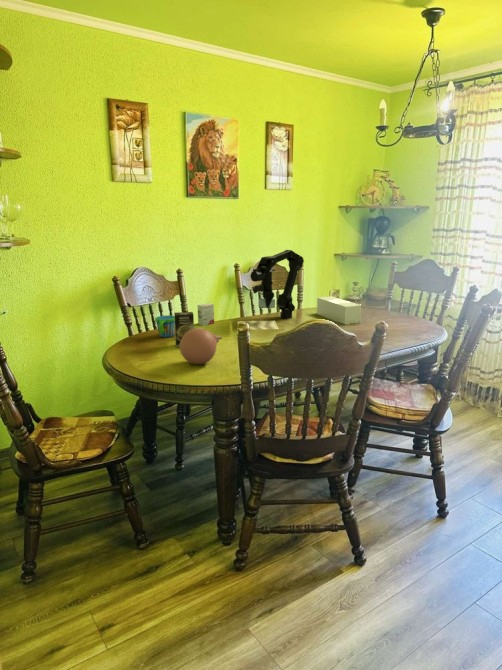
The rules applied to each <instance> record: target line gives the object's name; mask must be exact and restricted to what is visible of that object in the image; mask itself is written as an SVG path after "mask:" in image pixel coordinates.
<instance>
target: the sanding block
mask: <svg viewBox="0 0 502 670" xmlns="http://www.w3.org/2000/svg"><path fill="white" fill-rule="evenodd" d="M257 301H258V303H257V304H258V305H257V306H258V308H259V309H276V299H275V298H274V297H273V299H272V301H271V303H270V306H269V308H267V307H266V302H265V299H264V298H263V297H262V298H258V300H257Z"/></svg>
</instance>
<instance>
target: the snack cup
mask: <svg viewBox="0 0 502 670" xmlns="http://www.w3.org/2000/svg"><path fill="white" fill-rule="evenodd" d="M154 320H155V322H156V323H155V324H156V327H157V331H158V336H159V338H164V339H165V338H172V337H173V336H174V335H175V317H174V315H169V314H167V315H159V316H158V315H157V316H156V317H155V319H154Z"/></svg>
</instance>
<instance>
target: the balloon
mask: <svg viewBox="0 0 502 670" xmlns="http://www.w3.org/2000/svg"><path fill="white" fill-rule="evenodd" d="M222 339H223V336H220V335H217V334H216V333H214V334H212V333H211V332H210V331H208V329H204V328H201V327H197V328H195V327H194V329H191V330H189V331H188V332H186V333H185V334H184V336H183V337H182V339H181V342H180V347H179V349H180V354H181V356H182V357H183V358H184V360H186V361H187V362H189V363H190V364H193V365H203V364H206V363H208V362H210V361H211V360H212V359H213V357H214V356H215V354H216V352H217V345H218V343H220V340H222Z"/></svg>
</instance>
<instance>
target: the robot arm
mask: <svg viewBox="0 0 502 670" xmlns="http://www.w3.org/2000/svg"><path fill="white" fill-rule="evenodd" d="M284 260H287V261H288V267H289V271H288V274H287V278H286V281H285V285H284V289H283V292H282V293H281V294H279V293H278V297H277V300H276V301H277V302H276V303H277V304H276V305H277V307H278V310H280V312H279V314H280V315H279V318H280V319H285V320H289V319H293V312H294V311H295V309H296V306H295V305H294V303H293V297H292V293H293V290H294V288H295V282H296V280H297V276H298V272H299V271H300V270H301V269H302V268H303V265H304V263H305V262H304V261H305V260H304V257H303V256H301V255H300V254H298V253H296V252H295V251H293V250H292V249H285V250H283V251H281V252H278V253H276V254H274V255H267V256H262V257H260V260H259V262H258V264H257V267H256V268H253V269H252V271H251V273H250V280H251V281H252V282H260V284H256V285H254V286H252V287H251V289H252V292H253V294H256V293H258V292H260V294H261V295H262V296H261V297H262V298H264V299H265V302H266V307H267V308H266V309H270V308H269V306H270V303H271V301H272V299H273V298H274V297H275V292H273V290H274V289H273V284H274V283H273V272H275V271H276V269H275V268H273V267H275V266H277V264H278V263H280V262H282V261H284Z"/></svg>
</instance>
